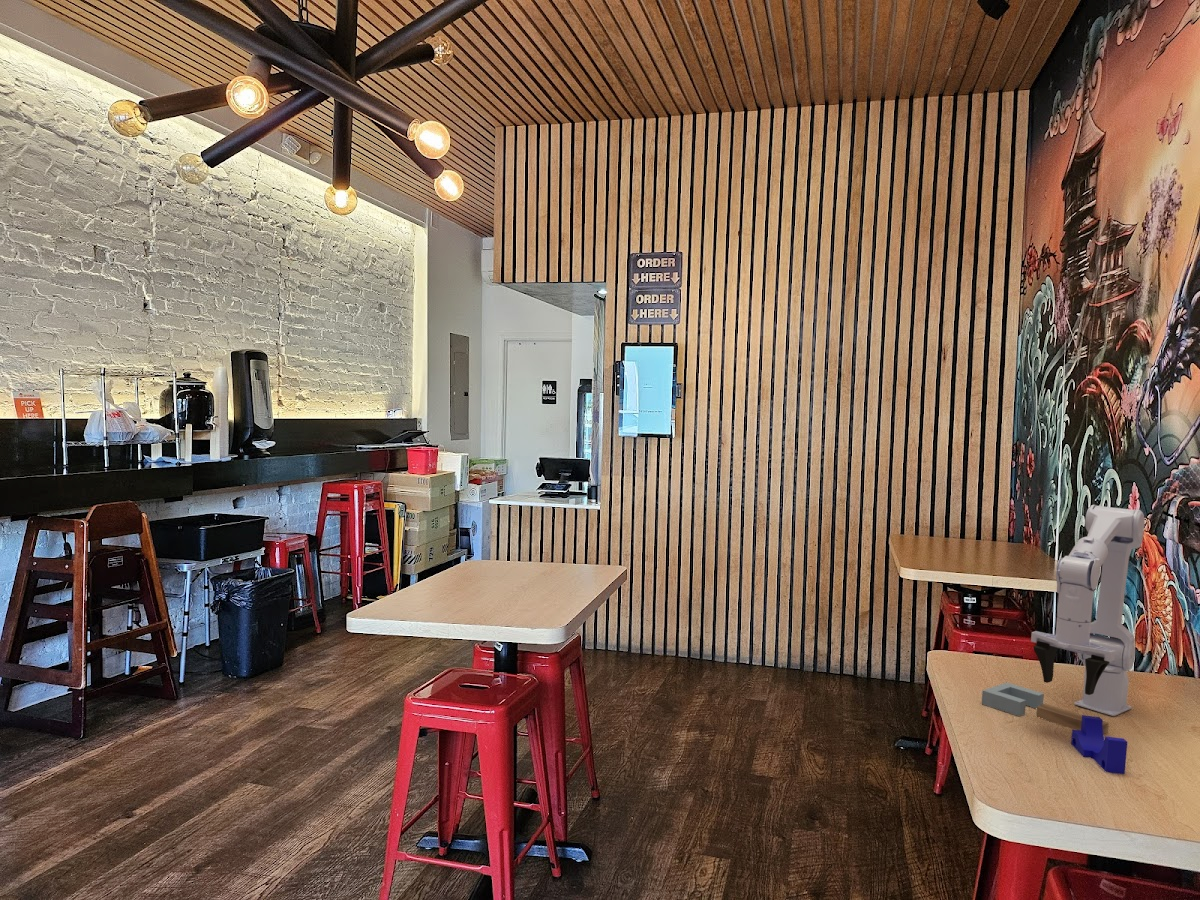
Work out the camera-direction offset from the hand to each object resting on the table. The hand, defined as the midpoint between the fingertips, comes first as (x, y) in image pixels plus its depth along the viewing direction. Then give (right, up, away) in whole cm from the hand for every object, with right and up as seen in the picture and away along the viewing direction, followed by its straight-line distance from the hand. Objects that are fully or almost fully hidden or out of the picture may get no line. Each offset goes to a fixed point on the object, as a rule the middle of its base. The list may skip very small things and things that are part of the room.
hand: (1068, 687), depth 158 cm
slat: (+5, -10, +7) cm, 13 cm away
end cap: (-2, -9, +17) cm, 19 cm away
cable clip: (0, -11, -9) cm, 14 cm away
